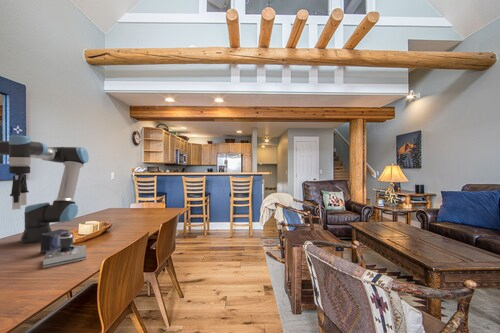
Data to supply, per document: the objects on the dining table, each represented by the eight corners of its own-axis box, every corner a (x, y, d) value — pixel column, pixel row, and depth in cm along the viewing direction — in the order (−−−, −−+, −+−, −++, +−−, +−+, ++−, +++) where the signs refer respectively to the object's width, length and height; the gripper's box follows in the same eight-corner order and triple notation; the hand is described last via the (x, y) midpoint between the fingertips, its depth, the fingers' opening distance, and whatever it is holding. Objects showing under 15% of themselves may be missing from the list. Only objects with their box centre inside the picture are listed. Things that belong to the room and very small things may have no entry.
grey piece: (46, 259, 111) (46, 249, 111) (85, 251, 121) (85, 242, 121) (43, 268, 101) (43, 257, 101) (86, 259, 111) (86, 249, 111)
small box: (49, 254, 117) (49, 235, 117) (39, 253, 119) (39, 234, 119) (69, 247, 128) (69, 229, 128) (60, 246, 129) (60, 228, 129)
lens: (60, 251, 112) (60, 233, 112) (73, 248, 115) (73, 231, 115) (59, 254, 107) (59, 236, 107) (72, 251, 111) (72, 234, 111)
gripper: (15, 165, 119) (15, 204, 119) (1, 165, 99) (1, 212, 99) (34, 165, 123) (34, 203, 123) (25, 165, 104) (25, 210, 104)
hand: (19, 207), depth 111 cm, fingers open, 13 cm apart
